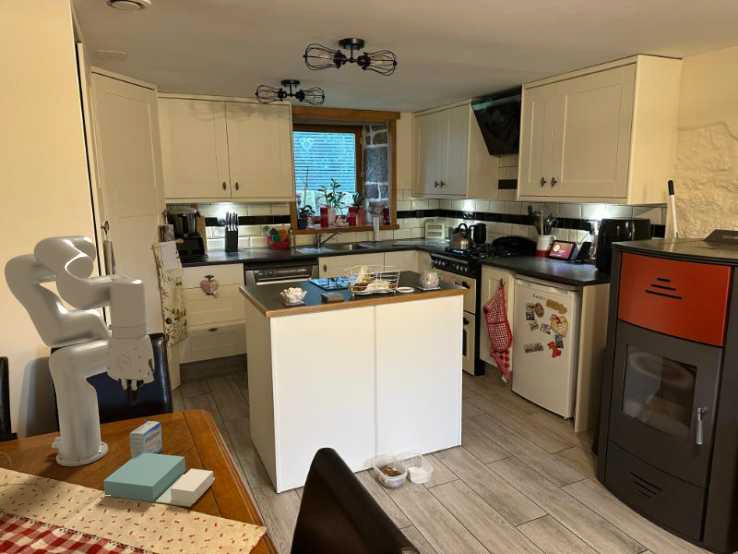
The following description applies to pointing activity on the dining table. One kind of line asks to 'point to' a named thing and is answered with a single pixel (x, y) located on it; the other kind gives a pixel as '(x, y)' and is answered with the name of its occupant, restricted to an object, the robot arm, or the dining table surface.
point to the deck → (145, 476)
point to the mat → (167, 497)
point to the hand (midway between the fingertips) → (133, 403)
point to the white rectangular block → (192, 485)
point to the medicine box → (146, 439)
